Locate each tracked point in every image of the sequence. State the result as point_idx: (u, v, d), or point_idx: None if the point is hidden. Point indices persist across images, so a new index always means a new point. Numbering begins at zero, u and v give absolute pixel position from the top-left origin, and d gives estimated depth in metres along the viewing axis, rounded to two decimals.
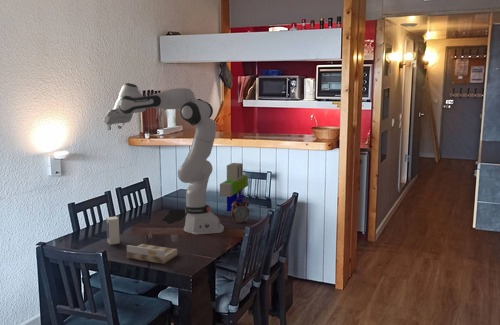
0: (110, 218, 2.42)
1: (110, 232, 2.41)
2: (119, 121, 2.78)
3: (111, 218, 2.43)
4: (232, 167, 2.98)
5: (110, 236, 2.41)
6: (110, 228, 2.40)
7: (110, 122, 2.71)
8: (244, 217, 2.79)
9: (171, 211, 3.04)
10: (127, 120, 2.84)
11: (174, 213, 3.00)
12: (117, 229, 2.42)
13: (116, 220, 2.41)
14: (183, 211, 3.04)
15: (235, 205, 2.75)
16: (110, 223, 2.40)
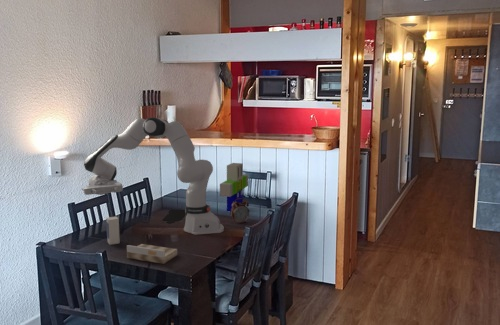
0: (110, 218, 2.42)
1: (110, 232, 2.41)
2: (103, 186, 2.56)
3: (111, 218, 2.43)
4: (232, 167, 2.98)
5: (110, 236, 2.41)
6: (110, 228, 2.40)
7: (88, 187, 2.53)
8: (244, 217, 2.79)
9: (171, 211, 3.04)
10: (116, 184, 2.60)
11: (174, 213, 3.00)
12: (117, 229, 2.42)
13: (116, 220, 2.41)
14: (183, 211, 3.04)
15: (235, 205, 2.75)
16: (110, 223, 2.40)
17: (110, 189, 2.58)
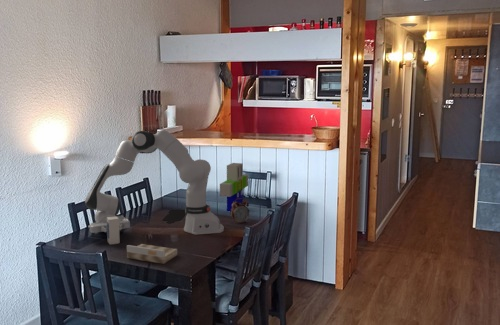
0: (110, 218, 2.42)
1: (110, 232, 2.41)
2: None
3: (112, 217, 2.43)
4: (232, 167, 2.98)
5: (110, 236, 2.41)
6: (110, 228, 2.40)
7: (94, 225, 2.44)
8: (244, 217, 2.79)
9: (171, 211, 3.04)
10: (123, 221, 2.51)
11: (174, 213, 3.00)
12: (117, 229, 2.42)
13: (116, 220, 2.41)
14: (183, 211, 3.04)
15: (235, 205, 2.75)
16: (110, 223, 2.40)
17: None
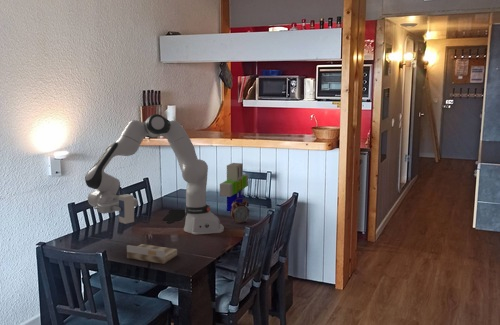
0: (123, 195, 2.27)
1: (126, 210, 2.26)
2: None
3: (125, 195, 2.28)
4: (232, 167, 2.98)
5: (126, 214, 2.26)
6: (126, 206, 2.25)
7: (105, 205, 2.26)
8: (244, 217, 2.79)
9: (171, 211, 3.04)
10: None
11: (174, 213, 3.00)
12: (132, 207, 2.28)
13: (131, 197, 2.27)
14: (183, 211, 3.04)
15: (235, 205, 2.75)
16: (126, 200, 2.25)
17: None
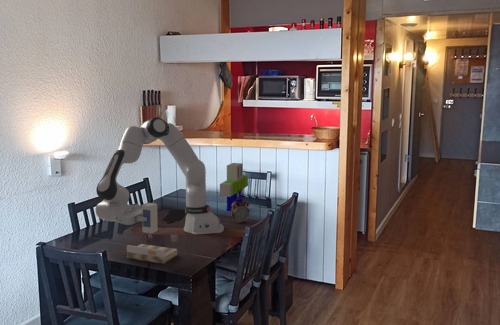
0: (148, 204, 2.19)
1: (152, 219, 2.19)
2: (139, 212, 2.23)
3: (148, 204, 2.20)
4: (232, 167, 2.98)
5: (152, 224, 2.19)
6: (152, 215, 2.18)
7: (129, 216, 2.15)
8: (244, 217, 2.79)
9: (171, 211, 3.04)
10: None
11: (174, 213, 3.00)
12: (156, 215, 2.22)
13: (155, 205, 2.21)
14: (183, 211, 3.04)
15: (235, 205, 2.75)
16: (152, 209, 2.18)
17: None
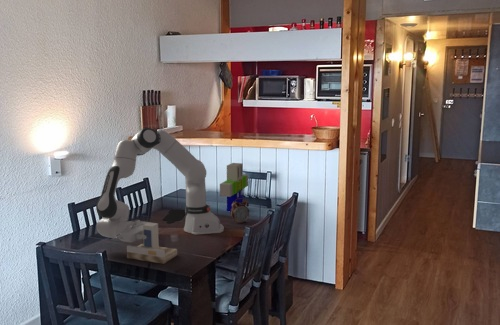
0: (149, 225, 2.21)
1: (153, 239, 2.20)
2: (140, 228, 2.24)
3: (149, 224, 2.22)
4: (232, 167, 2.98)
5: (153, 244, 2.21)
6: (153, 235, 2.20)
7: (130, 233, 2.17)
8: (244, 217, 2.79)
9: (171, 211, 3.04)
10: None
11: (174, 213, 3.00)
12: (157, 235, 2.23)
13: (156, 225, 2.22)
14: (183, 211, 3.04)
15: (235, 205, 2.75)
16: (153, 229, 2.20)
17: None
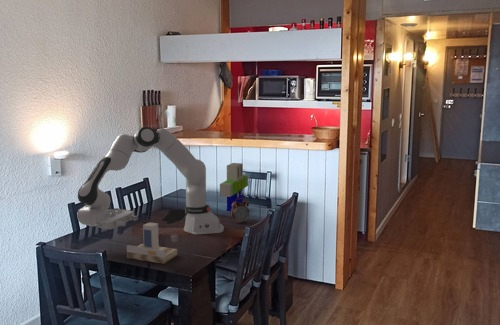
0: (149, 225, 2.21)
1: (153, 239, 2.20)
2: (119, 216, 2.27)
3: (149, 224, 2.22)
4: (232, 167, 2.98)
5: (153, 244, 2.21)
6: (153, 235, 2.20)
7: (109, 220, 2.20)
8: (244, 217, 2.79)
9: (171, 211, 3.04)
10: (128, 212, 2.34)
11: (174, 213, 3.00)
12: (157, 235, 2.23)
13: (156, 225, 2.22)
14: (183, 211, 3.04)
15: (235, 205, 2.75)
16: (153, 229, 2.20)
17: (126, 218, 2.31)
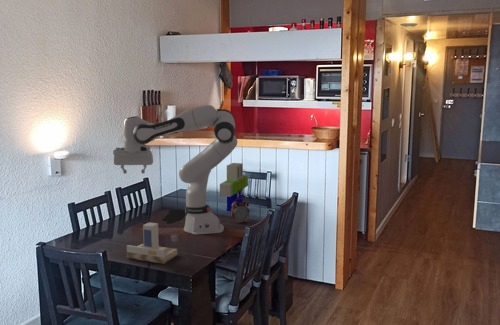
0: (149, 225, 2.21)
1: (153, 239, 2.20)
2: (132, 162, 2.48)
3: (149, 224, 2.22)
4: (232, 167, 2.98)
5: (153, 244, 2.21)
6: (153, 235, 2.20)
7: (117, 162, 2.48)
8: (244, 217, 2.79)
9: (171, 211, 3.04)
10: (146, 161, 2.49)
11: (174, 213, 3.00)
12: (157, 235, 2.23)
13: (156, 225, 2.22)
14: (183, 211, 3.04)
15: (235, 205, 2.75)
16: (153, 229, 2.20)
17: None
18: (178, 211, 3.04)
